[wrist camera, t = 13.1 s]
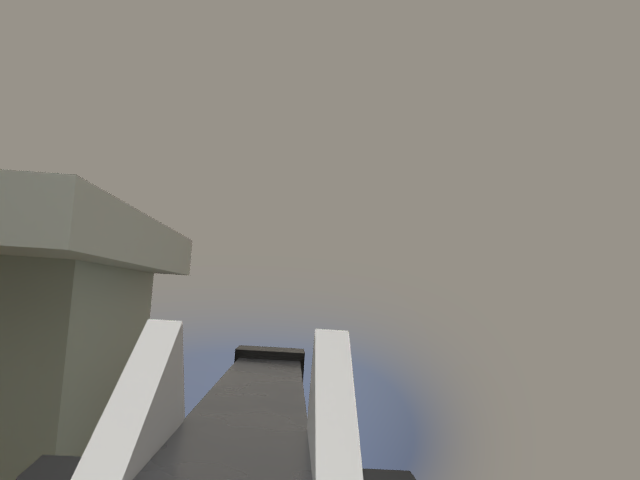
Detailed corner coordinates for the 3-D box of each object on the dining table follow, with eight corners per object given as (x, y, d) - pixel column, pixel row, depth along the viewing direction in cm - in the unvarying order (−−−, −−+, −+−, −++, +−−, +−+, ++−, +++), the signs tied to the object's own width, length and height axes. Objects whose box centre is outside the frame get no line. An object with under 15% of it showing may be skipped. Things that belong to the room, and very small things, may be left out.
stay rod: (337, 1032, 5) (360, 602, 5) (-78, 1028, 5) (-29, 587, 5) (299, 414, 31) (303, 349, 31) (235, 410, 31) (239, 345, 31)
